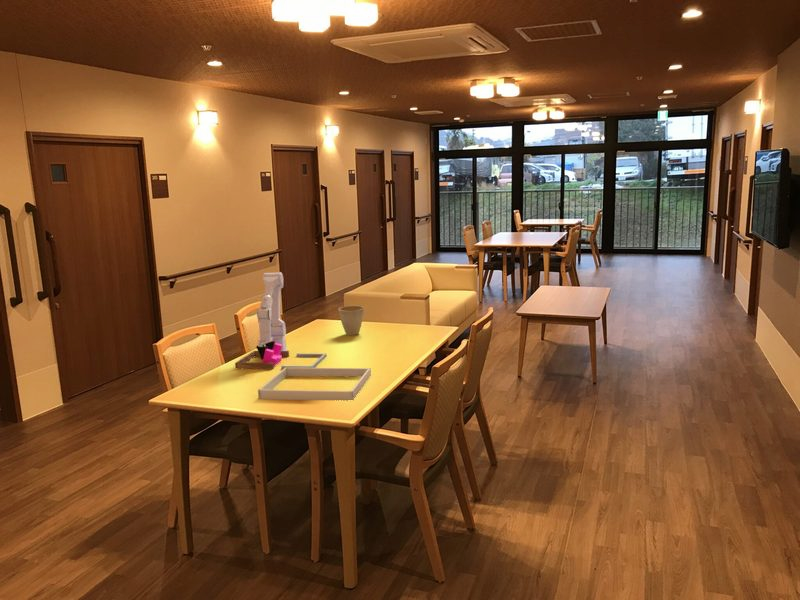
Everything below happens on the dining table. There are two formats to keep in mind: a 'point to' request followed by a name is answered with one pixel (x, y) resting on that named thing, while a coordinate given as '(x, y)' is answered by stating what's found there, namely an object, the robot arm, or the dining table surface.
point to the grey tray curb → (268, 393)
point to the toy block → (273, 354)
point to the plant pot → (351, 319)
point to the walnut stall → (244, 365)
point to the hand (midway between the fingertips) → (266, 357)
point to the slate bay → (308, 356)
